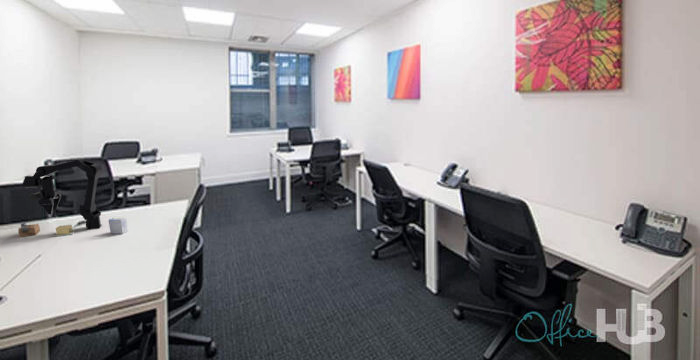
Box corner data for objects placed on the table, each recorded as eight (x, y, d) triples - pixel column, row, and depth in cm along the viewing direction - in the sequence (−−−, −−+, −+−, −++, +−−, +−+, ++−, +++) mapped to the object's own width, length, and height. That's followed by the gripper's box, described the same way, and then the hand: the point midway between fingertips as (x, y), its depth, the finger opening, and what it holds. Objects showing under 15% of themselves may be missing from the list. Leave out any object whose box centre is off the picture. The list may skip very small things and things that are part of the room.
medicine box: (128, 231, 201) (126, 217, 199) (122, 234, 196) (120, 220, 195) (116, 230, 202) (114, 217, 200) (110, 233, 197) (108, 219, 195)
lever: (28, 231, 186) (27, 227, 186) (22, 232, 184) (21, 228, 184) (27, 226, 194) (26, 222, 193) (20, 227, 192) (20, 223, 192)
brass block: (72, 231, 199) (71, 224, 198) (69, 233, 195) (68, 227, 194) (60, 232, 197) (59, 225, 196) (56, 235, 193) (55, 228, 192)
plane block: (40, 231, 200) (38, 223, 199) (35, 234, 194) (34, 227, 193) (24, 232, 197) (23, 225, 196) (19, 236, 191) (18, 229, 190)
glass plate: (75, 230, 201) (75, 230, 201) (71, 234, 195) (71, 233, 195) (58, 232, 197) (58, 232, 197) (54, 236, 191) (54, 236, 191)
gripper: (35, 184, 201) (40, 209, 205) (23, 191, 185) (28, 218, 188) (59, 183, 206) (63, 207, 209) (49, 189, 190) (53, 216, 193)
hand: (52, 212), depth 200 cm, fingers open, 9 cm apart
